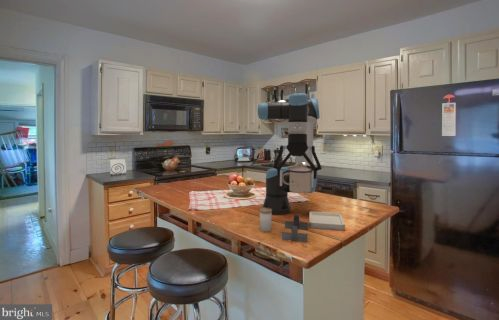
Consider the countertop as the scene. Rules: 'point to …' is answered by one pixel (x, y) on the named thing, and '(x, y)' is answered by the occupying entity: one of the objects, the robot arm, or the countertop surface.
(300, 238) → the clip cradle
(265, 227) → the jar
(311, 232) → the countertop surface
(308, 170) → the teacup with lid
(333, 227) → the tray
